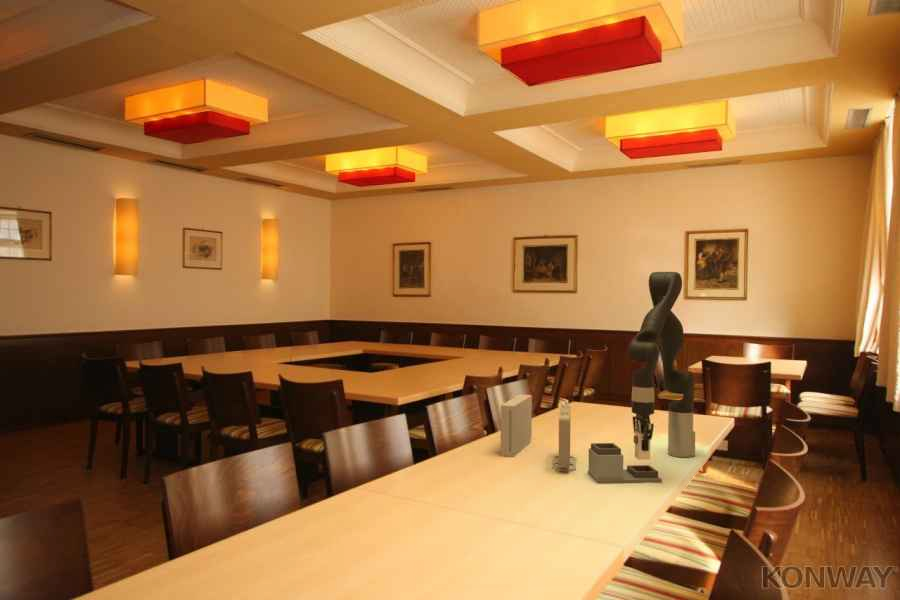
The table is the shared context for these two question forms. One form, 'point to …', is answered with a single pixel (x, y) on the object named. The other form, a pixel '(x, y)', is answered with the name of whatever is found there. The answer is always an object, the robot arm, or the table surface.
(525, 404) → the game console
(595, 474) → the grey stepped block
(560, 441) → the network device
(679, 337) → the robot arm
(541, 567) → the table surface
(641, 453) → the plug
